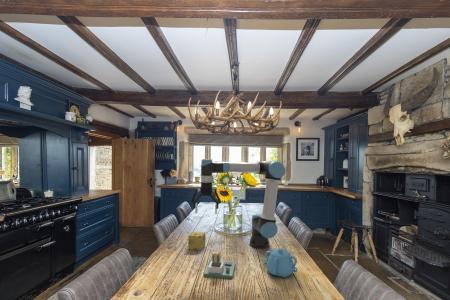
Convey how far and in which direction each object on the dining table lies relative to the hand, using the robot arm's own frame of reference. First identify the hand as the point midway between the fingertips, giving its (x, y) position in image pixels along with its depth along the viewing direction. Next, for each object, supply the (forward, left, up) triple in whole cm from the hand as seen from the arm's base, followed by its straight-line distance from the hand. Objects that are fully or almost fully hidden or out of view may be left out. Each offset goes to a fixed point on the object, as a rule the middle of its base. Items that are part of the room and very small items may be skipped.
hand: (206, 213), depth 165 cm
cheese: (+10, -15, -29) cm, 34 cm away
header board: (-13, +18, -29) cm, 36 cm away
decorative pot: (-48, +16, -29) cm, 58 cm away
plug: (-11, +21, -27) cm, 36 cm away
